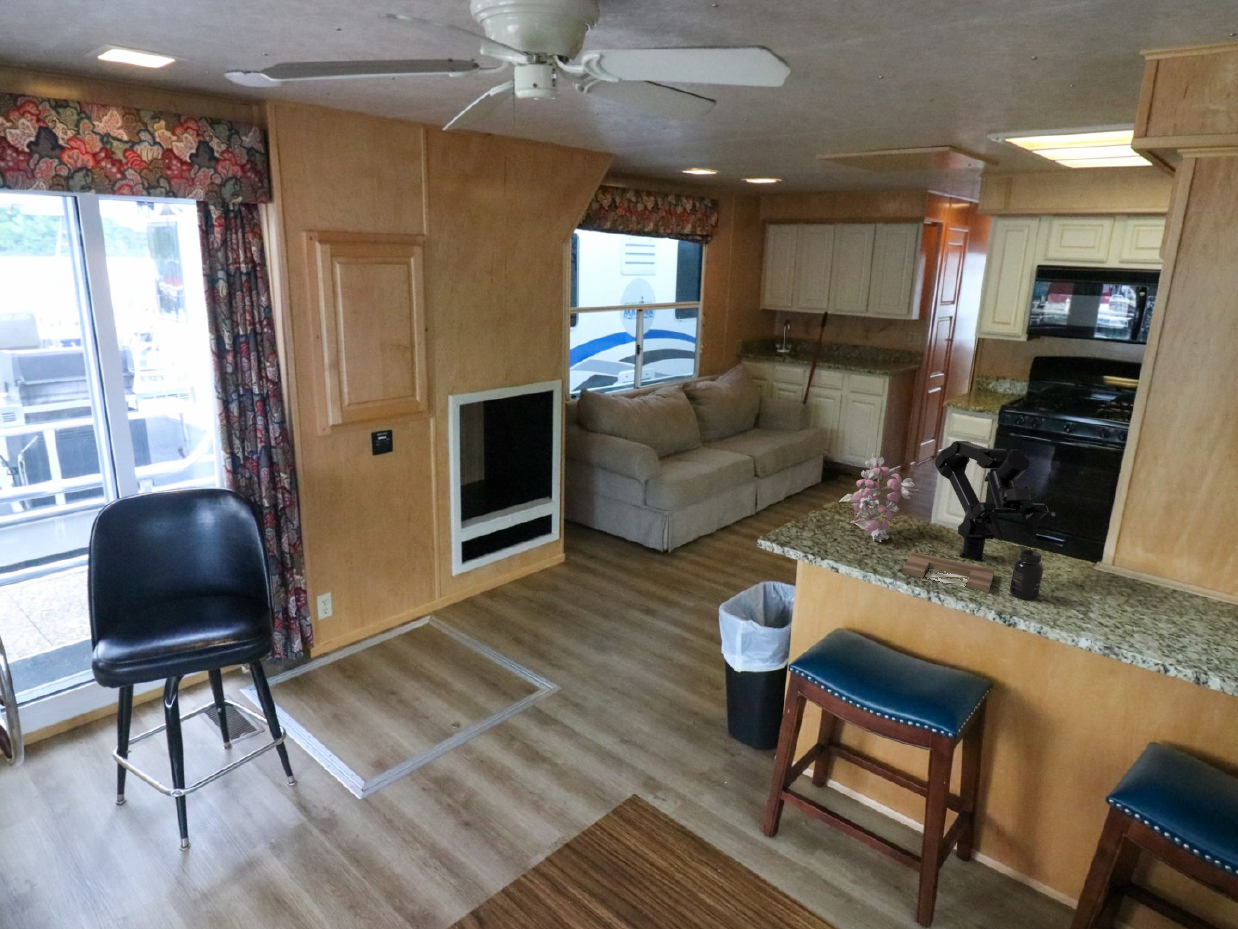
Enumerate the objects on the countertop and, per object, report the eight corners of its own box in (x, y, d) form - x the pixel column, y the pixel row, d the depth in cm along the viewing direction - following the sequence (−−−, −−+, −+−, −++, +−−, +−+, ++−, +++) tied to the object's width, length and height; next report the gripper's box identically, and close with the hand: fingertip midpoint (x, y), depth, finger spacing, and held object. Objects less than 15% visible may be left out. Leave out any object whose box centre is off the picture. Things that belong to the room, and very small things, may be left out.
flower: (813, 526, 244) (852, 466, 231) (839, 503, 262) (876, 446, 248) (867, 566, 237) (910, 506, 224) (890, 539, 255) (931, 482, 241)
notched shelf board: (911, 558, 225) (912, 552, 225) (993, 575, 215) (994, 569, 214) (902, 574, 214) (903, 567, 213) (988, 593, 203) (989, 586, 202)
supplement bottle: (1041, 602, 199) (1049, 559, 196) (1013, 599, 200) (1021, 556, 197) (1033, 591, 205) (1041, 549, 202) (1005, 588, 206) (1013, 546, 203)
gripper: (983, 473, 206) (998, 526, 198) (1051, 475, 207) (1068, 528, 199) (965, 493, 216) (978, 544, 208) (1029, 494, 217) (1045, 545, 209)
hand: (1017, 540), depth 206 cm, fingers open, 9 cm apart
